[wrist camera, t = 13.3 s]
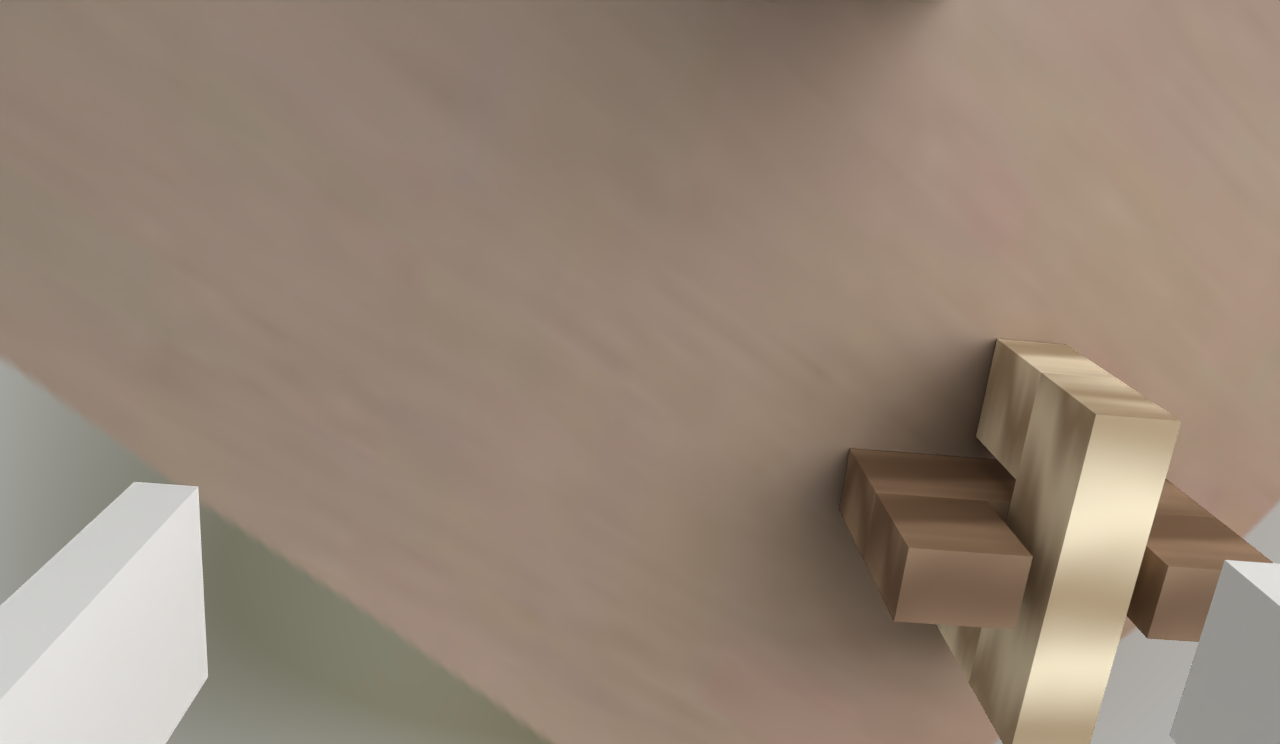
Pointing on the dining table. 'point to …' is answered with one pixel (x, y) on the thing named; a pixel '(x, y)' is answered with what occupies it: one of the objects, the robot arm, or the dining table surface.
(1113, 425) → the cross plate
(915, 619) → the slotted base
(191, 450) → the dining table surface
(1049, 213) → the dining table surface
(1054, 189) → the dining table surface
